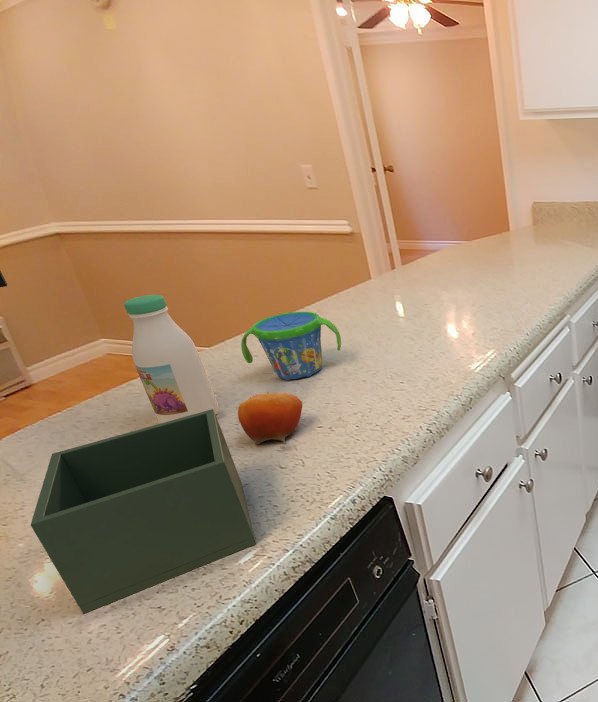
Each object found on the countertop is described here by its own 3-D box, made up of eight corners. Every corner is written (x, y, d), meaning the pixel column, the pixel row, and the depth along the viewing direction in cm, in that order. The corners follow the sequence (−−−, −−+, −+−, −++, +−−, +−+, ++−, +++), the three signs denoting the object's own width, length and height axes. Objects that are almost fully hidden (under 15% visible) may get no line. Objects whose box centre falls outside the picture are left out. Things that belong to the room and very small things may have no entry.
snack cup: (352, 355, 109) (339, 306, 105) (340, 378, 100) (326, 325, 96) (264, 366, 106) (248, 315, 102) (243, 390, 97) (224, 336, 93)
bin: (94, 533, 65) (51, 453, 60) (241, 482, 73) (213, 408, 68) (83, 614, 54) (30, 524, 50) (256, 544, 62) (224, 461, 58)
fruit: (230, 452, 77) (225, 395, 77) (254, 451, 84) (249, 398, 85) (295, 441, 78) (289, 385, 79) (313, 441, 86) (307, 390, 87)
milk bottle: (206, 402, 94) (161, 287, 85) (229, 413, 90) (186, 294, 82) (152, 423, 88) (99, 302, 79) (175, 436, 84) (122, 310, 76)
